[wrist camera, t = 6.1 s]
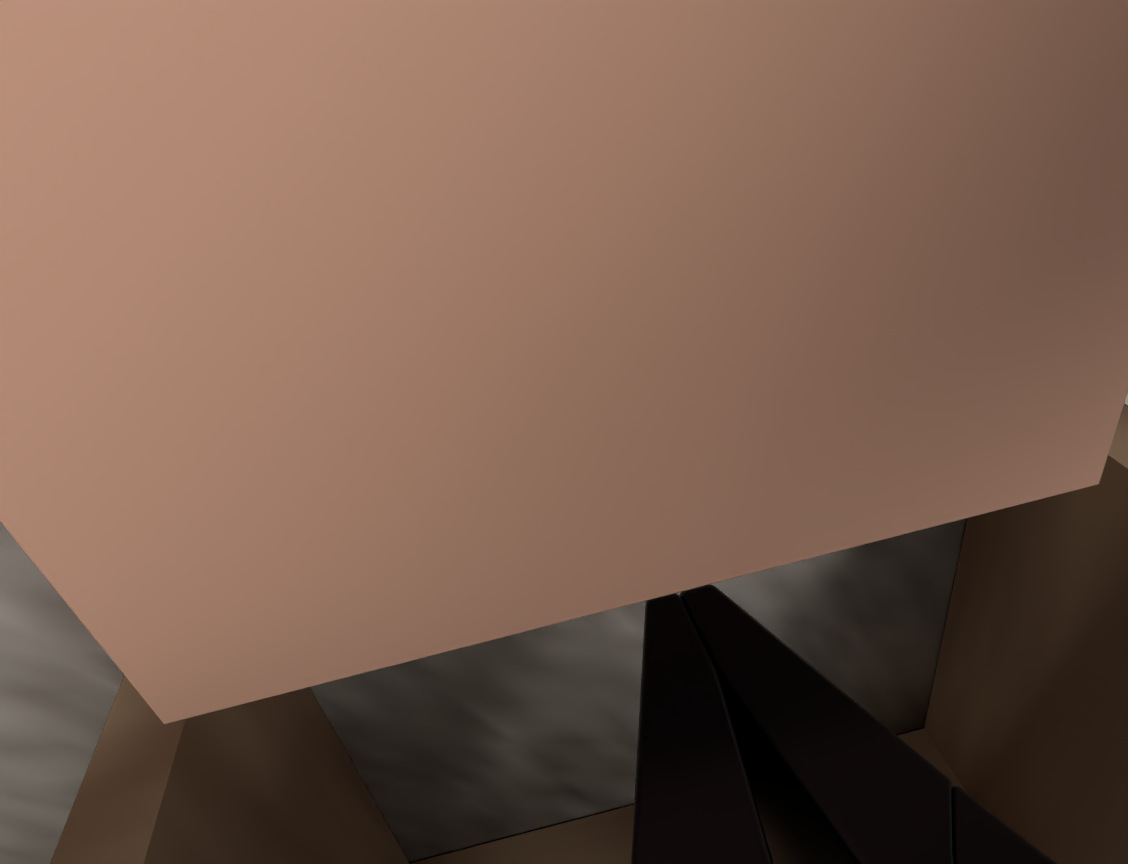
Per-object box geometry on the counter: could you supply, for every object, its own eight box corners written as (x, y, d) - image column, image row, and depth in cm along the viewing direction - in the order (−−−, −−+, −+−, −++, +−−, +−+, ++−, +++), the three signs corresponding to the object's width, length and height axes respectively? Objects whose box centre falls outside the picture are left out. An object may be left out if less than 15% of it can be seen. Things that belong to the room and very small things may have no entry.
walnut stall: (1055, 360, 12) (1412, 585, 7) (958, 742, 18) (1127, 986, 13) (166, 569, 11) (15, 950, 7) (378, 896, 17) (367, 1205, 13)
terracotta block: (930, -753, 6) (1894, -2053, 2) (861, 300, 11) (1098, 484, 7) (-258, -558, 5) (-1860, -1783, 2) (252, 446, 10) (164, 725, 7)
